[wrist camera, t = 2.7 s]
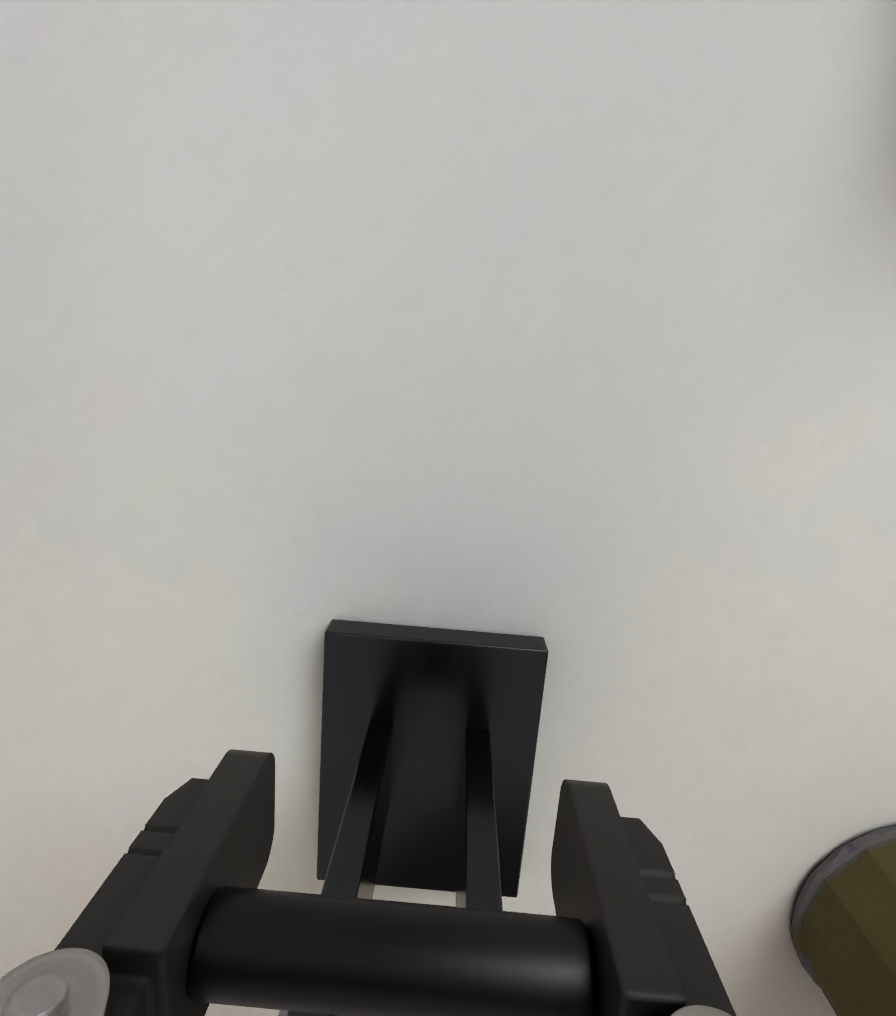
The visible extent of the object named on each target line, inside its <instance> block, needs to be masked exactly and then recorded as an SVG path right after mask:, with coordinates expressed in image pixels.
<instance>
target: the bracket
mask: <svg viewBox="0 0 896 1016" xmlns="http://www.w3.org/2000/svg"><path fill="white" fill-rule="evenodd" d="M547 658H548V649H547V646H546V643H545V640H544V638H543V637H534V636H522V635H510V634H499V633H487V632H475V631H463V630H451V629H440V628H428V627H416V626H404V625H392V624H381V623H369V622H357V621H345V620H332V621H331V622H330V624H329V626H328V628H327V629H326V631H325V636H324V667H323V699H322V730H321V761H320V792H319V824H318V855H317V879H318V880H325V882H324V885H323V889H322V892H321V895H329V896H340V897H351V898H362V899H372V897H373V891H374V886H375V885H385V886H396V887H407V888H418V889H429V890H440V891H451V892H456V907H462V908H473V909H484V910H495V911H503V910H502V896H506V897H517V894H518V886H519V878H520V870H521V862H522V855H523V847H524V839H525V831H526V823H527V815H528V807H529V800H530V792H531V784H532V776H533V768H534V760H535V752H536V745H537V737H538V729H539V721H540V713H541V705H542V697H543V690H544V682H545V674H546V666H547ZM279 1016H342V1015H331V1014H320V1013H310V1012H299V1011H288V1010H280V1012H279Z"/></svg>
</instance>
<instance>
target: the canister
mask: <svg viewBox="0 0 896 1016" xmlns="http://www.w3.org/2000/svg"><path fill="white" fill-rule="evenodd" d="M791 934H792V938H793V942H794V945H795V948H796V951H797V954H798V956H799V959H800V962H801V964H802V965H803V967H804V969H805V970H806V971H807V973H808V974H809V975H810V977H811V978H812V979H813V981H814V982H815V983H816V984H817V985H818V986H820V987H821V989H822V991H823V992H824V994H825V996H826V997H827V999H828V1001H829V1003H830V1004H831V1006H832V1008H833V1009H834V1011H835V1013H836V1014H837V1016H896V825H893V826H889V827H884V828H880V829H876V830H873V831H871V832H869V833H867V834H865V835H863V836H861V837H859V838H857V839H855V840H853V841H851V842H849V843H847V844H845V845H843V846H840V847H838V848H837V849H836V850H835V851H834V852H833V853H832V854H831V855H830V856H829V857H828V858H826V859H825V860H824V861H823V862H822V863H821V864H820V865H819V866H818V867H817V868H816V869H815V870H814V871H813V872H812V873H811V874H810V875H809V877H808V879H807V881H806V883H805V884H804V886H803V888H802V891H801V893H800V895H799V897H798V899H797V901H796V903H795V907H794V913H793V920H792V927H791Z"/></svg>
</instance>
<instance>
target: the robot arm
mask: <svg viewBox="0 0 896 1016" xmlns="http://www.w3.org/2000/svg"><path fill="white" fill-rule="evenodd" d="M274 811H275V758H274V755H273V753H267V752H255V751H244V750H233V749H232V750H229V751H228V752H227V753H226V754H225V756H224V757H223V759H222V760H221V762H220V763H219V765H218V766H217V768H216V770H215V771H214V773H213V774H212V776H211V777H210V779H209V780H207V779H196V778H192V779H190V780H189V781H188V782H186V783H185V784H184V785H182V786H181V787H180V788H178V789H177V790H176V791H174V792H173V793H172V794H170V795H169V796H168V797H166V798H165V799H164V800H163V802H162V803H161V804H160V806H159V807H158V808H157V810H156V811H155V813H154V814H153V815H152V817H151V818H150V819H149V821H148V822H147V824H146V825H145V829H144V831H141V832H140V833H139V835H138V836H137V837H136V839H135V840H134V841H133V843H132V844H131V846H130V847H129V851H128V853H127V854H124V855H123V857H122V858H121V859H120V861H119V862H118V864H117V865H116V866H115V868H114V869H113V870H112V872H111V873H110V875H109V876H108V877H107V879H106V880H105V881H104V883H103V884H102V886H101V887H100V888H99V890H98V891H97V892H96V894H95V895H94V897H93V898H92V899H91V901H90V902H89V903H88V905H87V906H86V908H85V909H84V910H83V912H82V913H81V915H80V916H79V917H78V919H77V920H76V921H75V923H74V924H73V926H72V927H71V928H70V930H69V931H68V932H67V934H66V935H65V937H64V938H63V939H62V941H61V942H60V943H59V945H58V946H57V947H56V948H55V950H54V951H51V952H47V953H44V954H42V955H39V956H37V957H35V958H32V959H30V960H28V961H27V962H25V963H23V964H21V965H19V966H18V967H16V968H15V969H13V970H12V971H10V972H9V973H7V974H6V975H5V976H3V977H2V978H1V979H0V1016H204V1015H205V1013H206V1011H207V1008H208V1006H209V1003H202V1002H194V1001H193V1000H192V999H190V998H189V996H188V993H187V972H188V965H189V959H190V954H191V950H192V946H193V942H194V938H195V935H196V932H197V929H198V926H199V923H200V920H201V918H202V915H203V913H204V911H205V909H206V907H207V905H208V903H209V901H210V899H211V897H212V896H213V894H214V893H215V892H216V891H217V890H218V889H219V888H222V887H225V886H230V887H241V888H252V889H257V887H258V885H259V882H260V880H261V877H262V875H263V872H264V870H265V867H266V865H267V862H268V858H269V855H270V851H271V846H272V841H273V834H274ZM551 881H552V892H553V898H554V904H555V910H556V916H561V917H572V918H578V919H580V920H582V921H583V922H584V923H585V925H586V928H587V930H588V933H589V936H590V940H591V944H592V949H593V955H594V962H595V971H596V986H597V1006H596V1016H736V1014H735V1012H734V1010H733V1007H732V1005H731V1003H730V1000H729V998H728V996H727V993H726V991H725V989H724V987H723V984H722V982H721V980H720V977H719V975H718V973H717V970H716V968H715V966H714V963H713V961H712V959H711V956H710V954H709V952H708V949H707V947H706V945H705V942H704V940H703V938H702V935H701V933H700V931H699V929H698V926H697V924H696V922H695V919H694V917H693V915H692V912H691V910H690V908H689V906H688V905H686V898H685V896H684V894H683V891H682V889H681V887H680V884H679V882H678V880H676V879H675V873H674V870H673V868H672V866H671V864H670V861H669V859H668V857H667V854H666V852H665V850H664V847H663V845H662V844H661V842H660V841H659V840H658V839H657V838H656V837H655V836H654V835H653V833H652V832H651V831H650V830H649V829H648V828H647V827H646V826H645V824H644V823H643V822H642V821H641V820H640V819H638V818H627V817H620V815H619V812H618V809H617V807H616V804H615V801H614V798H613V796H612V793H611V790H610V788H609V786H608V784H606V783H599V782H588V781H577V780H564V781H563V782H562V786H561V791H560V798H559V805H558V812H557V819H556V826H555V833H554V840H553V847H552V857H551Z"/></svg>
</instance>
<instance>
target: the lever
mask: <svg viewBox="0 0 896 1016" xmlns="http://www.w3.org/2000/svg"><path fill="white" fill-rule="evenodd" d="M187 993H188V996H189V998H190V999H192V1000H193V1001H194V1002H202V1003H213V1004H224V1005H235V1006H245V1007H256V1008H267V1009H277V1010H288V1011H299V1012H310V1013H320V1014H331V1015H342V1016H596V1006H597V986H596V971H595V962H594V955H593V949H592V944H591V940H590V936H589V933H588V930H587V928H586V925H585V923H584V922H583V921H582V920H580V919H578V918H572V917H561V916H550V915H539V914H528V913H517V912H506V911H495V910H484V909H473V908H462V907H451V906H440V905H429V904H418V903H407V902H396V901H385V900H373V899H362V898H351V897H340V896H329V895H318V894H307V893H296V892H285V891H274V890H263V889H252V888H241V887H230V886H225V887H222V888H219V889H218V890H217V891H216V892H215V893H214V894H213V896H212V897H211V899H210V901H209V903H208V905H207V907H206V909H205V911H204V913H203V915H202V918H201V920H200V923H199V926H198V929H197V932H196V935H195V938H194V942H193V946H192V950H191V954H190V959H189V965H188V972H187Z"/></svg>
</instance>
